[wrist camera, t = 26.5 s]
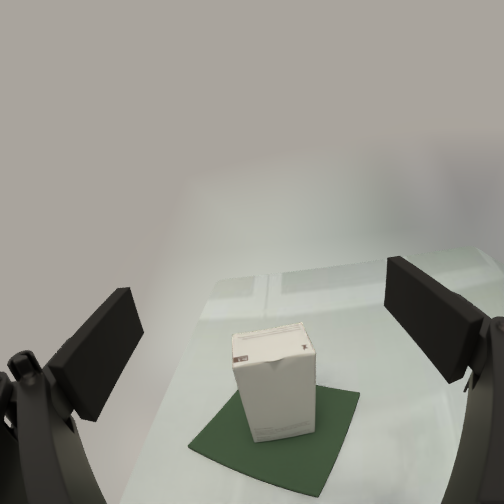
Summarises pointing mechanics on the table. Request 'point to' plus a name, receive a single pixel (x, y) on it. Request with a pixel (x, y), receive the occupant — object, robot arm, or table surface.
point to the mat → (281, 443)
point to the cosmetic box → (276, 381)
